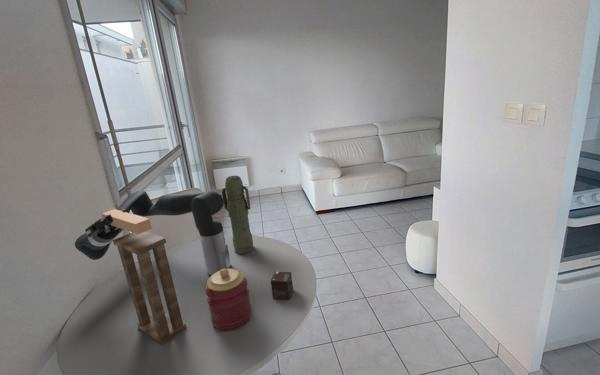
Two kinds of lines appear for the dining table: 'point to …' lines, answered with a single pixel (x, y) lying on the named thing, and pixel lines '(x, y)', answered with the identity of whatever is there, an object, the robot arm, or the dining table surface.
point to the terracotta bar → (128, 221)
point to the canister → (228, 299)
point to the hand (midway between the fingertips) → (118, 214)
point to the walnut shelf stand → (151, 285)
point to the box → (282, 285)
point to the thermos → (238, 213)
